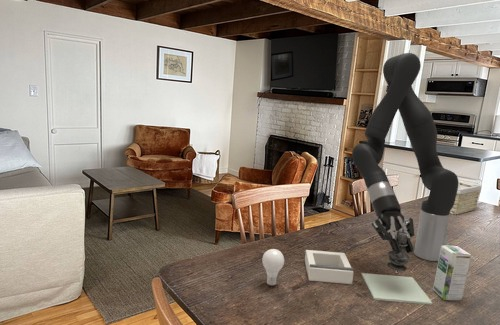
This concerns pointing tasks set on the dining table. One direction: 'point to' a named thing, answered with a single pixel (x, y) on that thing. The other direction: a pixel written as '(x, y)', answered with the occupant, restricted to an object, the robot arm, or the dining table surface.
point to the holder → (328, 267)
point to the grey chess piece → (401, 258)
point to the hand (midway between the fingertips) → (404, 252)
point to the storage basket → (466, 197)
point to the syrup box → (451, 272)
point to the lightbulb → (272, 264)
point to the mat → (395, 289)
